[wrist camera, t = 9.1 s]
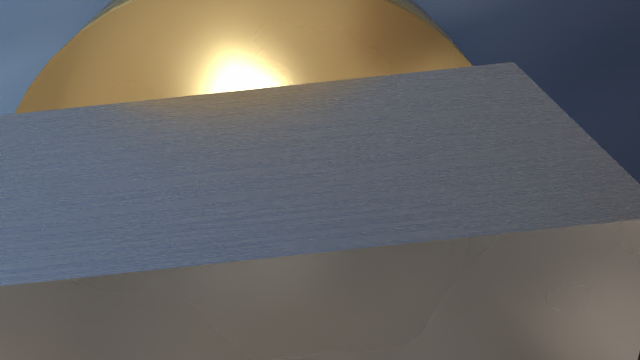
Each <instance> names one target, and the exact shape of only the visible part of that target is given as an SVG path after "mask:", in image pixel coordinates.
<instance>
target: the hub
mask: <svg viewBox="0 0 640 360" xmlns="http://www.w3.org/2000/svg"><path fill="white" fill-rule="evenodd" d="M471 66H473V65H472V64H471V63H470V62H469V60H468V59H467V58H466V57H465V56H464V54H463V53H462V52H461V51H460V49H459V48H458V47H457V46H456V45H455V43H454V42H453V41H452V40H451V39H450V37H449V36H448V35H447V34H446V33H445V32H444V30H443V29H442V28H441V27H440V26H439V25H438V24H437V23H436V22H435V21H434V20H433V19H432V18H431V17H430V16H429V15H428V14H427V13H426V12H425V11H424V10H423V9H422V8H420V7H419V6H418V5H417V4H415V3H414V2H413V1H412V0H113V1H111V2H110V3H109V4H108V5H107V6H106V7H105V8H104V9H103V10H102V11H101V12H100V13H99V14H97V15H96V16H95V17H94V18H93V19H92V20H91V21H90V22H89V23H88V24H87V25H86V26H85V27H84V28H83V29H82V30H81V31H80V32H79V33H78V34H77V35H76V36H75V37H74V38H72V39H71V40H70V41H69V42H68V43H67V44H66V45H65V46H64V47H63V48H62V49H61V50H60V51H59V52H58V53H57V54H56V55H55V56H54V57H53V58H52V59H51V60H50V61H49V62H48V64H47V65H46V66H45V68H44V69H43V70H42V71H41V73H40V74H39V75H38V77H37V78H36V79H35V81H34V82H33V83H32V85H31V86H30V87H29V89H28V91H27V92H26V94H25V96H24V98H23V100H22V102H21V104H20V106H19V108H18V109H17V111H16V113H15V114H18V113H27V112H37V111H47V110H56V109H66V108H76V107H85V106H95V105H105V104H114V103H124V102H134V101H143V100H153V99H162V98H172V97H182V96H191V95H201V94H211V93H220V92H230V91H240V90H249V89H259V88H268V87H278V86H288V85H297V84H307V83H317V82H326V81H336V80H346V79H355V78H365V77H374V76H384V75H394V74H403V73H413V72H423V71H432V70H442V69H452V68H461V67H471Z"/></svg>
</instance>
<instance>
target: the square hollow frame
mask: <svg viewBox="0 0 640 360" xmlns="http://www.w3.org/2000/svg"><path fill="white" fill-rule="evenodd" d="M639 352H640V184H639V183H638V182H637V181H636V180H635V179H634V178H632V177H631V176H630V175H629V174H628V173H627V172H626V171H625V170H624V169H623V168H622V167H621V166H620V165H619V164H618V163H617V162H616V161H615V160H614V159H613V158H612V157H611V156H610V155H609V154H608V153H607V152H606V151H605V150H604V149H603V148H602V147H601V146H599V145H598V144H597V143H596V142H595V141H594V140H593V139H592V138H591V137H590V136H589V135H588V134H587V133H586V132H585V131H584V130H583V129H582V128H581V127H580V126H579V125H578V124H577V123H576V122H575V121H574V120H573V119H572V118H571V117H570V116H569V115H568V114H566V113H565V112H564V111H563V110H562V109H561V108H560V107H559V106H558V105H557V104H556V103H555V102H554V101H553V100H552V99H551V98H550V97H549V96H548V95H547V94H546V93H545V92H544V91H543V90H542V89H541V88H540V87H539V86H538V85H537V84H536V83H534V82H533V81H532V80H531V79H530V78H529V77H528V76H527V75H526V74H525V73H524V72H523V71H522V70H521V69H520V68H519V67H518V66H517V65H516V64H515V63H514V62H509V63H500V64H490V65H480V66H471V67H461V68H452V69H442V70H432V71H423V72H413V73H403V74H394V75H384V76H374V77H365V78H355V79H346V80H336V81H326V82H317V83H307V84H297V85H288V86H278V87H268V88H259V89H249V90H240V91H230V92H220V93H211V94H201V95H191V96H182V97H172V98H162V99H153V100H143V101H134V102H124V103H114V104H105V105H95V106H85V107H76V108H66V109H56V110H47V111H37V112H27V113H18V114H8V115H0V360H638V356H639Z"/></svg>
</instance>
